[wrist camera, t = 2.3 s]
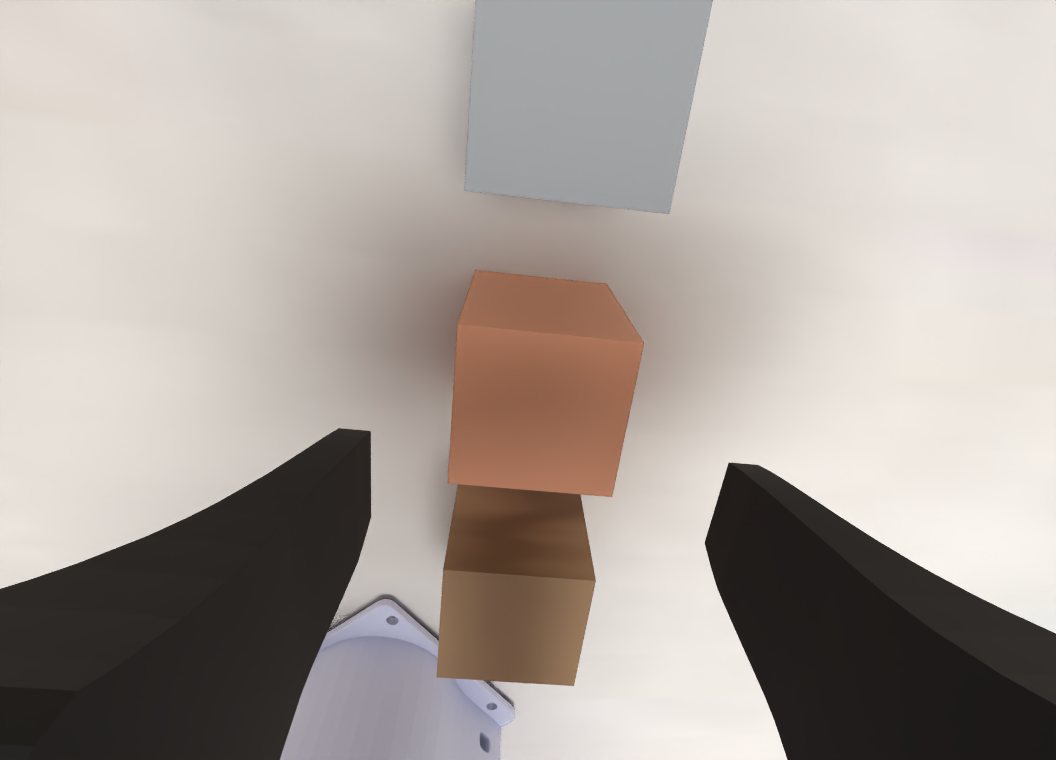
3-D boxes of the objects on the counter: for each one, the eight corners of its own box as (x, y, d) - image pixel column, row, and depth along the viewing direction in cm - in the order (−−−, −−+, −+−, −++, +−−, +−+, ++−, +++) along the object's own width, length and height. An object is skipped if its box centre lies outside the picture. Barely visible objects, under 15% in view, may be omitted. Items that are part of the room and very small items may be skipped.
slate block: (649, 28, 16) (720, -34, 10) (621, 192, 17) (669, 214, 12) (493, 7, 15) (479, -68, 10) (481, 175, 17) (464, 190, 12)
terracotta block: (606, 283, 19) (644, 343, 13) (586, 401, 20) (611, 496, 15) (475, 270, 18) (457, 324, 13) (466, 390, 20) (447, 483, 15)
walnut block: (575, 469, 22) (595, 580, 16) (560, 558, 23) (573, 685, 18) (462, 459, 21) (443, 569, 16) (455, 550, 23) (436, 677, 18)
